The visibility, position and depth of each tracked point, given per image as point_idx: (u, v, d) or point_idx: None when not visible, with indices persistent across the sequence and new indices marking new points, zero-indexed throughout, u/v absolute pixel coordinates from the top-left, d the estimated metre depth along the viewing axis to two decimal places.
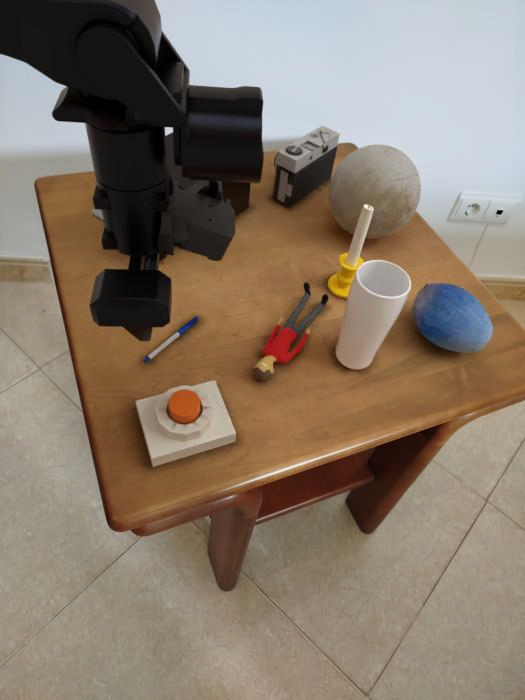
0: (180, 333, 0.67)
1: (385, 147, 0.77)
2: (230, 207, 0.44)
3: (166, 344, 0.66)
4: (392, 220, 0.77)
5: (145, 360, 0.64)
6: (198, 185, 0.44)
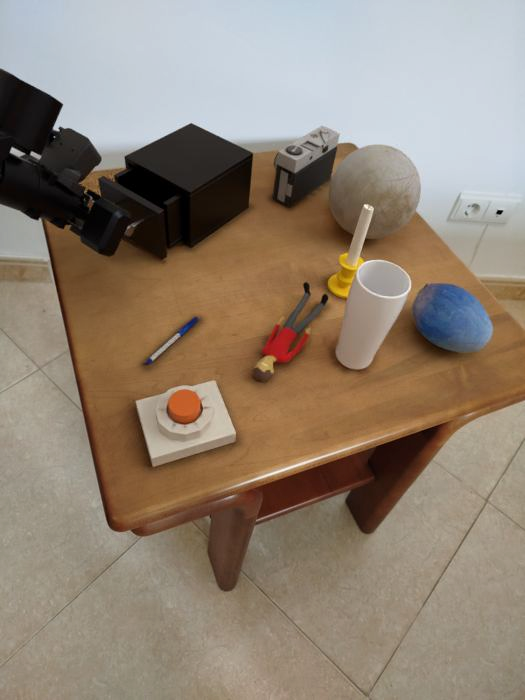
0: (181, 334, 0.67)
1: (385, 147, 0.77)
2: (66, 129, 0.59)
3: (167, 345, 0.66)
4: (392, 220, 0.77)
5: (147, 362, 0.64)
6: None
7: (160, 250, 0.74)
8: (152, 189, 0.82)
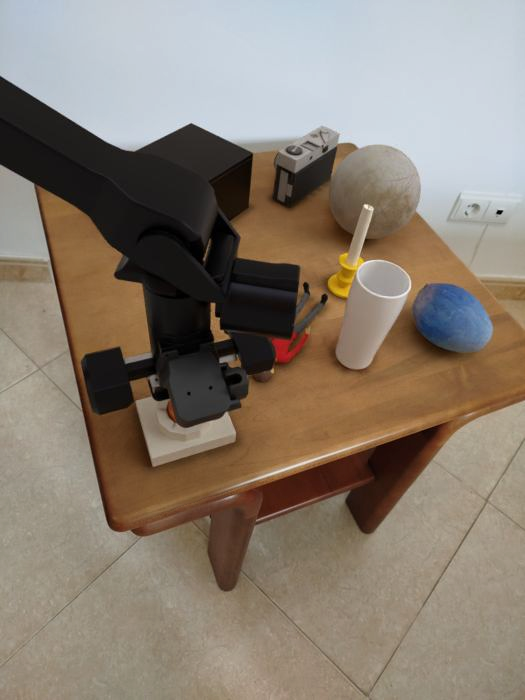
0: None
1: (385, 147, 0.77)
2: (226, 406, 0.43)
3: None
4: (392, 220, 0.77)
5: None
6: (233, 368, 0.44)
7: None
8: None
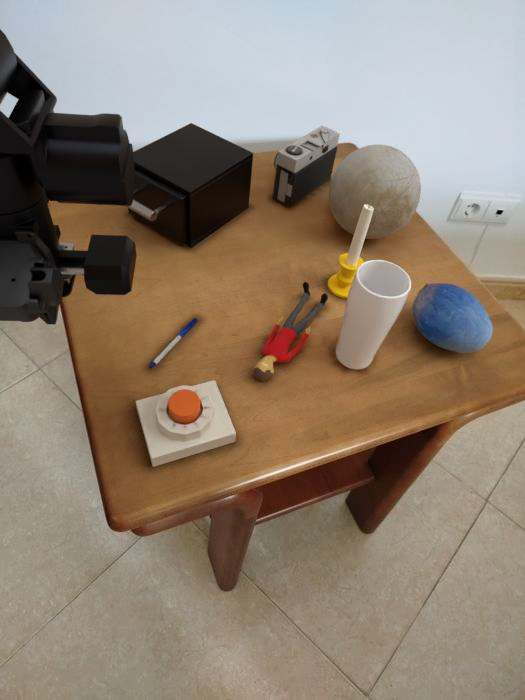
0: (181, 336, 0.68)
1: (385, 147, 0.77)
2: (21, 302, 0.38)
3: (169, 348, 0.66)
4: (392, 220, 0.77)
5: (151, 365, 0.64)
6: None
7: (182, 235, 0.77)
8: None
